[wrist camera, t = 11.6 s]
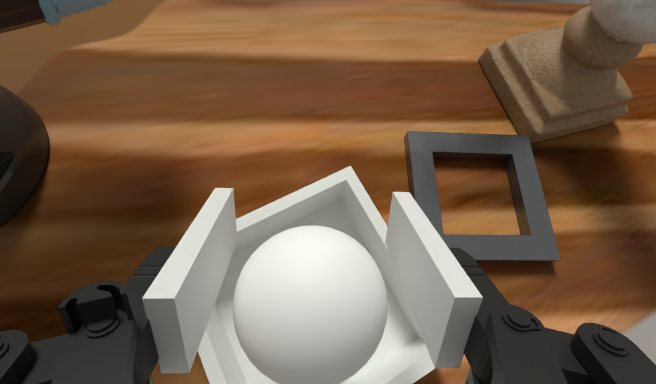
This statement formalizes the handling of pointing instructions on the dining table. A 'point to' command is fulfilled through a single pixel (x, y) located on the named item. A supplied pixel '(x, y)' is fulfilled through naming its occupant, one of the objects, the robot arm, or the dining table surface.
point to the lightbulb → (310, 306)
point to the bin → (357, 222)
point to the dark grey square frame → (523, 182)
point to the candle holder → (570, 69)
